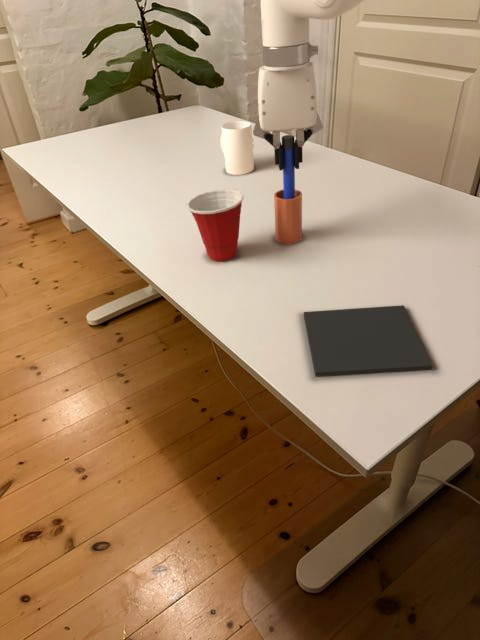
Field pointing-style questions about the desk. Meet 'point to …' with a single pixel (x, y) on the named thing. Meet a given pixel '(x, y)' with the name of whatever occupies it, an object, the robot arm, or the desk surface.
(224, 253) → the plastic cup
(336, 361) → the desk mat
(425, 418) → the desk surface
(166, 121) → the desk surface
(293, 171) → the marker
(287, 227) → the pen glass
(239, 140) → the mug
